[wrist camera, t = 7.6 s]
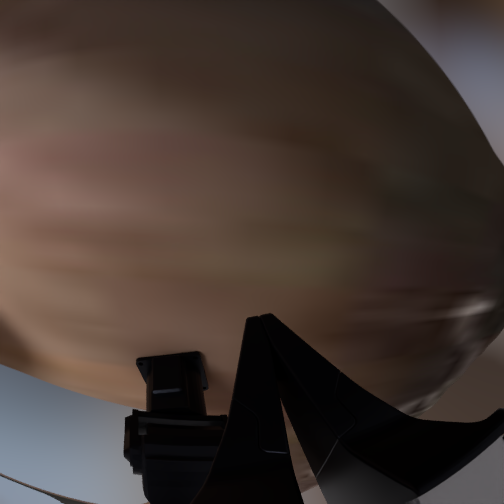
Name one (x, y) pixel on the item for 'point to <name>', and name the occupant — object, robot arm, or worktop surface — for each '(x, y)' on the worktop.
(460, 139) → the worktop surface
